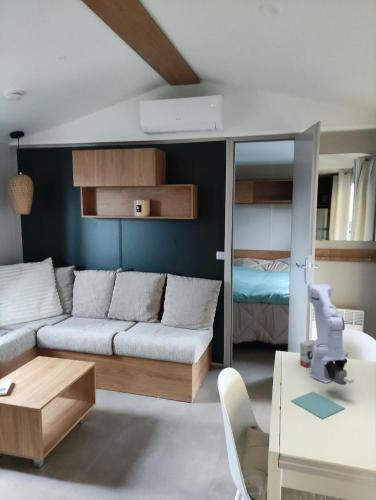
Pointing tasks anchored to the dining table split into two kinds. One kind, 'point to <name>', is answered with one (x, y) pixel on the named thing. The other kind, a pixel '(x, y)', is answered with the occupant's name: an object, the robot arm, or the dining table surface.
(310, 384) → the dining table surface
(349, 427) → the dining table surface
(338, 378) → the cylinder
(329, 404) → the charging mat
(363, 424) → the dining table surface
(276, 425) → the dining table surface
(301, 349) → the ink box
